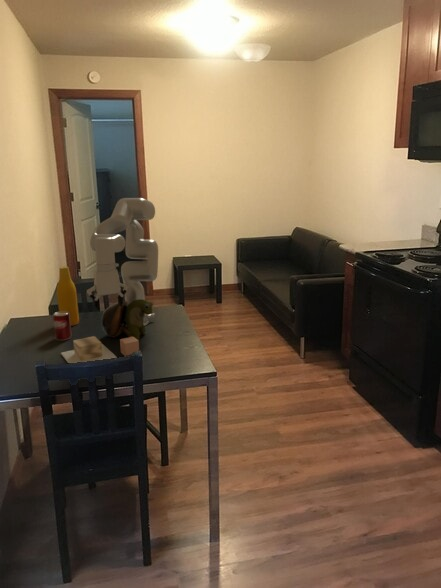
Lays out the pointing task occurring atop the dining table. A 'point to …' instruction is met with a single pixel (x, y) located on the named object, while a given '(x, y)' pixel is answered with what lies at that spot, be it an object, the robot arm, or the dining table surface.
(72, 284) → the beer bottle
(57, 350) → the dining table surface
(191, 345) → the dining table surface
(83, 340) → the maple block
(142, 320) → the brown green figure
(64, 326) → the soda can
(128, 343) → the pink cube
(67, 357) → the plate
